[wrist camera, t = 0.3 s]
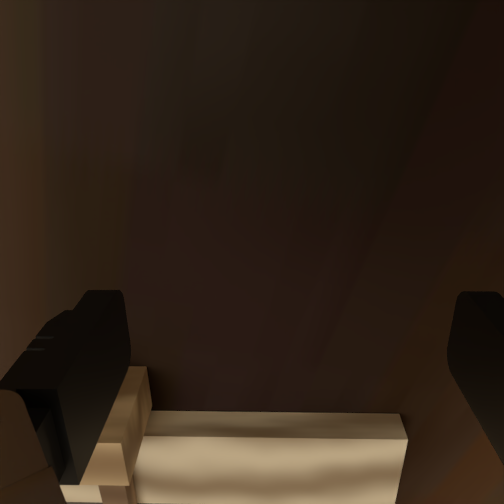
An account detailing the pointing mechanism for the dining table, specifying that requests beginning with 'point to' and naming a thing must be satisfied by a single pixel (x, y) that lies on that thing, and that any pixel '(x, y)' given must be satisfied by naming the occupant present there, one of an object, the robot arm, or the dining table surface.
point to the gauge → (121, 440)
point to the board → (264, 459)
